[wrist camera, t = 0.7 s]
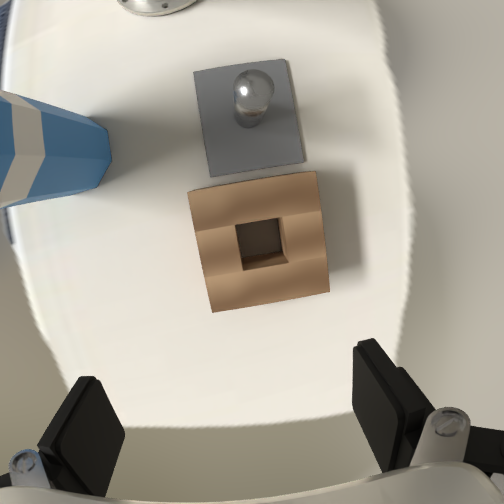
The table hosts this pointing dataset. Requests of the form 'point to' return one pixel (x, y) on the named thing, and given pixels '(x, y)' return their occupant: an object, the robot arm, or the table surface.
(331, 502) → the robot arm
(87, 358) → the table surface
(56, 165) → the water bottle
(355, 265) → the table surface
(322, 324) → the table surface
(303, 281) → the socket block
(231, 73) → the mat
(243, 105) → the peg
